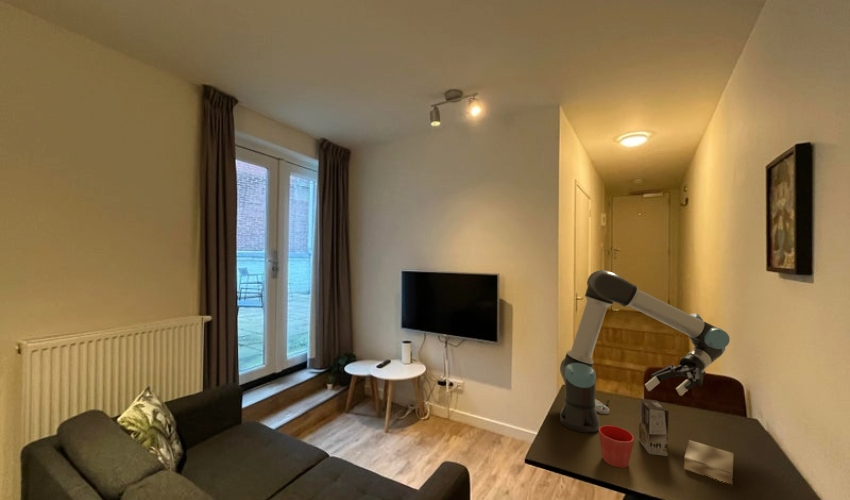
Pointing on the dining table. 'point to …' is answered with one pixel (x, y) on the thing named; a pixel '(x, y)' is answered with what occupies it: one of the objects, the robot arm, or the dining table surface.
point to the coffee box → (653, 427)
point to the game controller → (601, 407)
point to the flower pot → (616, 445)
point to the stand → (709, 461)
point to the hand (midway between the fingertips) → (662, 390)
